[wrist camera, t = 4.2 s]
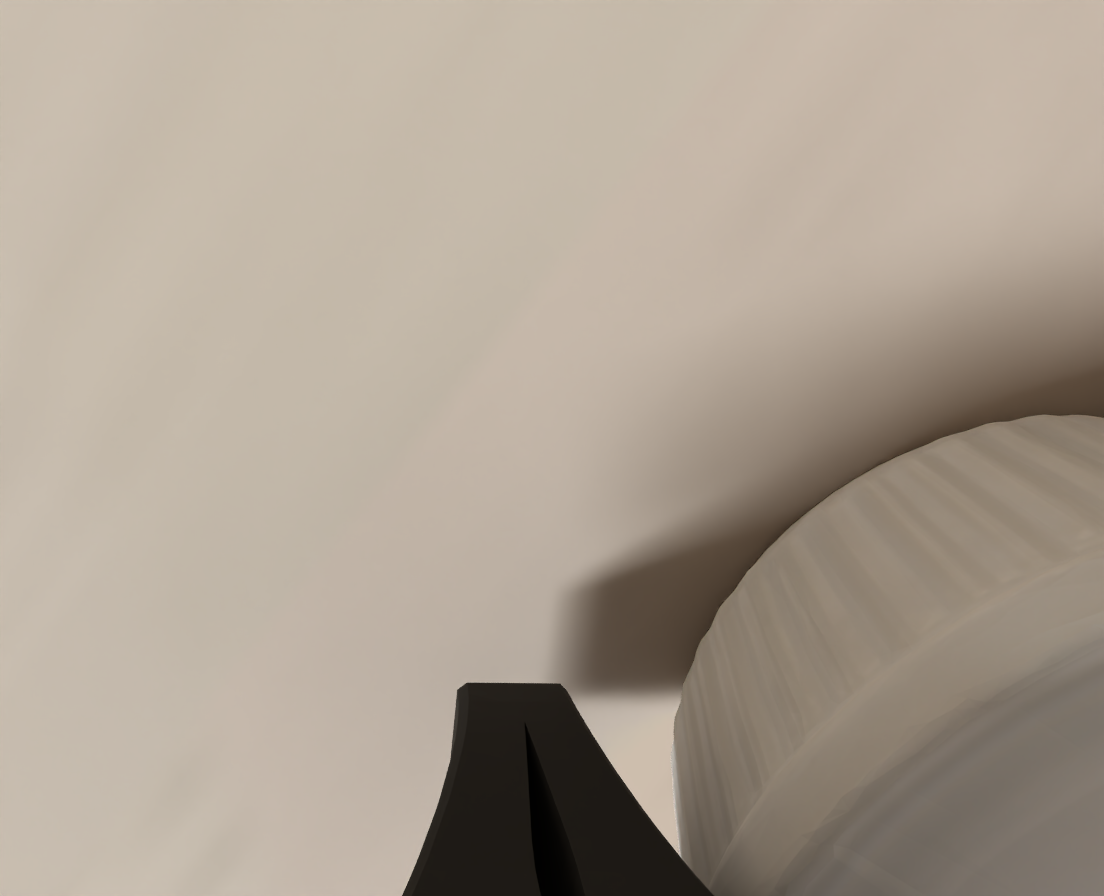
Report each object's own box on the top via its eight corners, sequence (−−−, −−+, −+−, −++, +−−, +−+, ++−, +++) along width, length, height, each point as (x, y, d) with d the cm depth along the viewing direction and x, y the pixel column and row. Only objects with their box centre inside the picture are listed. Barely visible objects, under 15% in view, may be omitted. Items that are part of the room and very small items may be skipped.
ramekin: (1449, 411, 14) (1948, 628, 10) (1100, 934, 19) (1328, 1253, 14) (746, 261, 12) (965, 454, 7) (537, 903, 17) (590, 1276, 12)
